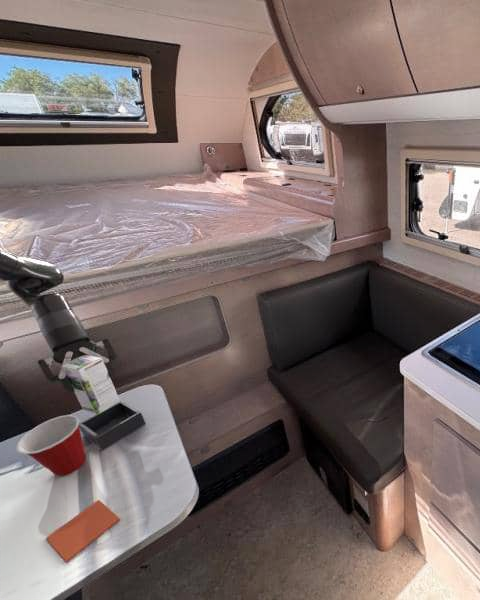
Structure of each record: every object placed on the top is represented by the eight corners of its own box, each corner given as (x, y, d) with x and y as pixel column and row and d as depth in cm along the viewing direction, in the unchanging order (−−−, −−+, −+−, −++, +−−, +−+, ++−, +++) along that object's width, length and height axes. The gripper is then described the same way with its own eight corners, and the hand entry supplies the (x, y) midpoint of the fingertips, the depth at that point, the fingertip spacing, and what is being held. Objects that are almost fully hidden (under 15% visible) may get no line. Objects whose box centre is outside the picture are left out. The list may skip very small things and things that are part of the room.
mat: (66, 562, 63) (66, 561, 62) (46, 539, 66) (45, 537, 66) (120, 519, 70) (119, 518, 70) (99, 500, 74) (98, 499, 73)
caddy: (103, 450, 86) (96, 438, 84) (84, 436, 90) (77, 424, 88) (145, 423, 94) (140, 412, 92) (126, 411, 98) (121, 400, 96)
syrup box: (82, 411, 86) (59, 366, 80) (105, 396, 91) (85, 353, 85) (98, 415, 85) (76, 370, 79) (121, 399, 90) (102, 356, 84)
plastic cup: (30, 476, 79) (5, 440, 74) (84, 443, 88) (65, 409, 83) (52, 494, 75) (28, 458, 70) (107, 457, 84) (88, 423, 79)
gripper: (21, 336, 78) (52, 395, 76) (97, 315, 88) (126, 366, 87) (27, 347, 83) (57, 402, 81) (99, 326, 93) (126, 374, 92)
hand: (93, 383), depth 84 cm, fingers closed on syrup box, 7 cm apart
